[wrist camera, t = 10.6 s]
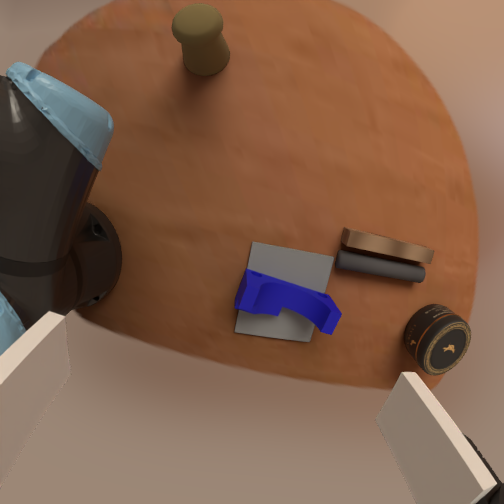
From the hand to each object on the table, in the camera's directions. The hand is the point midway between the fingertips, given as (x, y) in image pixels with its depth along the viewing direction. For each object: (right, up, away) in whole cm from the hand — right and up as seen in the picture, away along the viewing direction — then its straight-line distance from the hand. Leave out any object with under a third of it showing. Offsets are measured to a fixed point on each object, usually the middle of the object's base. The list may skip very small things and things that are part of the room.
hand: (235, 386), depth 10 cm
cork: (-5, +30, +23) cm, 38 cm away
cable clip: (+5, -1, +31) cm, 31 cm away
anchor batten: (+19, +6, +30) cm, 36 cm away
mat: (+5, -1, +31) cm, 31 cm away
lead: (+19, +3, +31) cm, 36 cm away
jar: (+30, -8, +34) cm, 46 cm away
